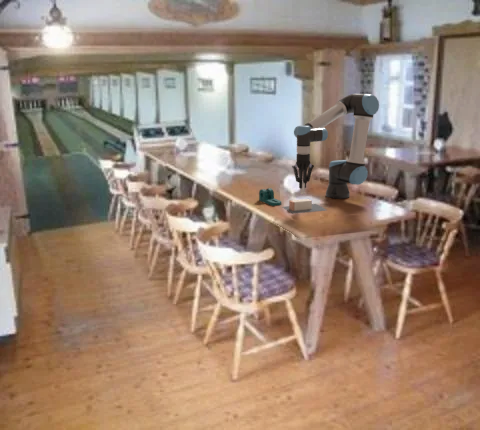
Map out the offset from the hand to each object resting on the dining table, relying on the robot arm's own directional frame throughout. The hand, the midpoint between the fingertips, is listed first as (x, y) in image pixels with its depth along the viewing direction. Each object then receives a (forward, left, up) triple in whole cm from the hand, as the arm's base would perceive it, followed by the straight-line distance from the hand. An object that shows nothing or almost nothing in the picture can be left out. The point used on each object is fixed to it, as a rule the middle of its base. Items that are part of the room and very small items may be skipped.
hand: (302, 193), depth 302 cm
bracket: (+12, -21, -10) cm, 26 cm away
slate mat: (-1, 0, -10) cm, 10 cm away
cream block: (-5, 0, -7) cm, 8 cm away
